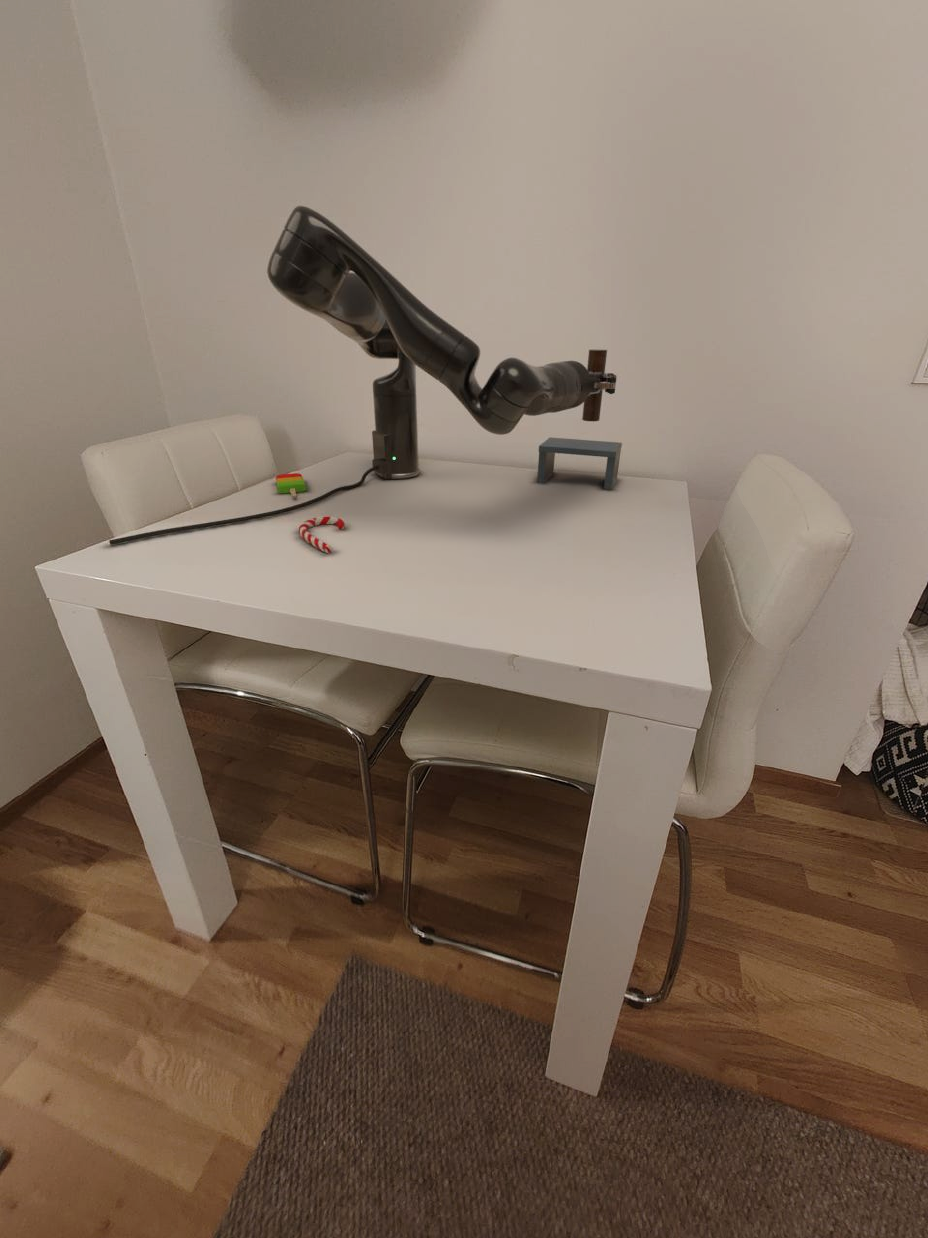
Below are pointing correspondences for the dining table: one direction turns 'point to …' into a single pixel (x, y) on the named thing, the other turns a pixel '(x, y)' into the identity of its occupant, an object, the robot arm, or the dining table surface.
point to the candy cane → (314, 522)
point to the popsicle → (290, 483)
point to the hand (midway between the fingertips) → (601, 378)
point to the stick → (594, 400)
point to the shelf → (579, 448)
